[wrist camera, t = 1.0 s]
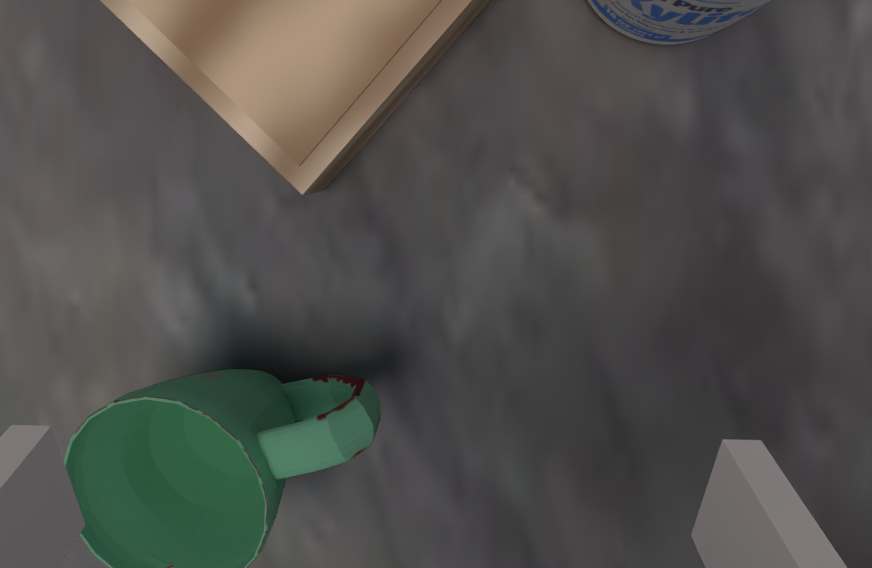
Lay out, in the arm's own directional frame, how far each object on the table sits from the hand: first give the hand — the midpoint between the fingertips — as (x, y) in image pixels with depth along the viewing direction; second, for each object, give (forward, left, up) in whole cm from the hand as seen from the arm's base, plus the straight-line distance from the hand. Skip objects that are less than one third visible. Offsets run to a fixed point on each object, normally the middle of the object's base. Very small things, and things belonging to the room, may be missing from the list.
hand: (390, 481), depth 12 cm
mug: (+2, +13, -22) cm, 25 cm away
